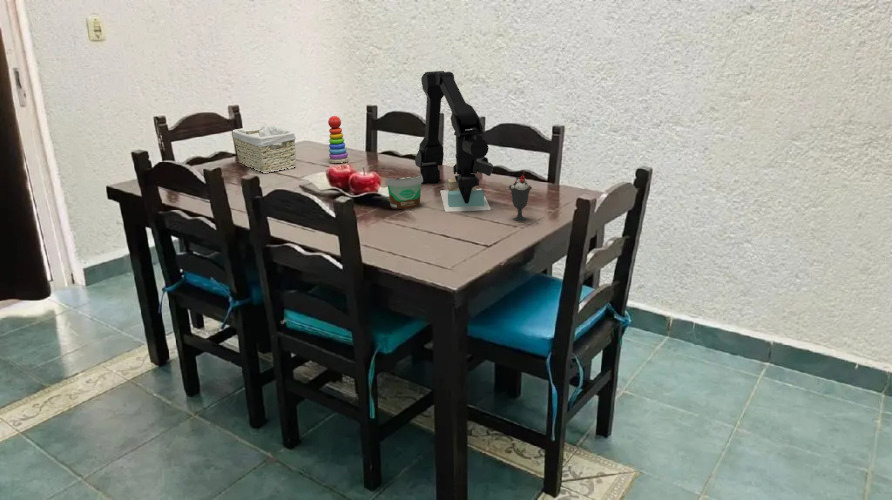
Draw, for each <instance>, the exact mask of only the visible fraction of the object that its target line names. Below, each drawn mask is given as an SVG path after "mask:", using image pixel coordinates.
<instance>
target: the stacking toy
mask: <svg viewBox="0 0 892 500" xmlns="http://www.w3.org/2000/svg"><path fill="white" fill-rule="evenodd" d="M327 123H328V126H329V127H330V129H328V132H329V133H330V134H329V136H328V137H329V140H328V142H329V145H328V146H329V149H328V152H329V156H328V157H329V158H328V161H329V163H330V162H331V163H330V164H332V163H340V162H346V163H348V162H349V160H350V159H349V157H348V155H349V154H348V152H347V148H346V143H345V139H344V134H343V132H342V131H343V130H342V128H341V125H342V120H341V119H340V117H339V116H337V115H333V116H330V117H329V119H328V122H327Z"/></svg>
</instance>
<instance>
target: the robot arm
mask: <svg viewBox="0 0 892 500" xmlns="http://www.w3.org/2000/svg"><path fill="white" fill-rule="evenodd" d="M420 81H421V85H422V90H423V92H424V94H425V96H426V105H425V109H426V110H425V124H424V125H425V127H424V137H423V139H422V140H421V142H420V143H419V148H418V151H417V153H416V156H415V159H414V164H415V166H416V167H417V168H419V173H421V175H422V178H423V182H422V183H421V185H432V184H433V185H435V184H440V182H441V170H440V168H439V166H443V163H444V156H445V155H444V153H445V152H444V147H443V146H442V144H441V142H440V140H439V138H440V137H439V135H440V121H441V107H442V106H441V105H442V99H443V97H444V98H445V100H446V103H447V104H448V106H449V108H450V112H451V115H450V123H451V126H452V128H453V131H454V133H453V135H454V136H455V161H456V162H455V165H453V167H452V170H453V174H454V175H455V176H454V179H456V181H457V185H458V187H459V190H460V192H461V194H462V197H463V199H464V202H465V203H469V199H470V195H471V191H472V188H473V187H474V186H477V187H479V186H480V179H479V177H478V175H476V174H477V173H480V174H483V175H486V176H489V177H491V176H492V173H493V170H494V167H495V166H494V164H493V163H491V162H489V159H488V157H486V156H487V154H488V152H489V144H488V143H487V141H486V140H485V139H483V134H484V131H483V129H484V128H483V125H482V122H481V120H480V117H479V115H478V113H477V111H476V110H475V109H474V107H473V106H472V105H470V104H469V103H467V102H466V101H465V99H464V97H463V94H462V93H461V91H460V88H459V86H458V84H457V83H456V80H455V74H454V73H453V72H451V71H444V70H436V71H426V72H424V73H423V74H422V76H421V80H420Z"/></svg>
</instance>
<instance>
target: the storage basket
mask: <svg viewBox="0 0 892 500" xmlns="http://www.w3.org/2000/svg"><path fill="white" fill-rule="evenodd" d="M253 134H258V135H259V136H258V135H257V136H256V135H253ZM232 138H233V141H234V144H235V147H236V151H237V152H236V153H237V157H238V162H239V164H240V163H242V164H245V165H247V166H249V167H252V168H255V169H258V170H260V171H264V172H265V171H271V170H278V169H282V168H287V167H291V166H296V167H297V160H296V158H297V157H296V152H297V151H296V143H295V142H296V140H297V138H296V134H295V132H293V131H291V130H288V129H285V128H282V127H281V128H280V127H277V126H275V125H274V126H273V125H267V124H264V125H257V126H256V125H255V126H249V127H244V128H243V127H242V128H238V129H237V128H236V129H233V130H232Z"/></svg>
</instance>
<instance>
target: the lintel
mask: <svg viewBox="0 0 892 500" xmlns="http://www.w3.org/2000/svg"><path fill="white" fill-rule="evenodd" d="M484 196H485V192H484V189H482V190H472V191H471V195H470V199H469V203H465V202H464V199H463V197H462V194H461V192H460V191H448V205H449V207H462V206H484Z"/></svg>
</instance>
